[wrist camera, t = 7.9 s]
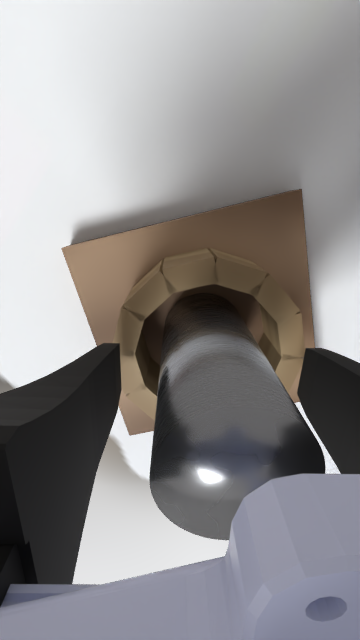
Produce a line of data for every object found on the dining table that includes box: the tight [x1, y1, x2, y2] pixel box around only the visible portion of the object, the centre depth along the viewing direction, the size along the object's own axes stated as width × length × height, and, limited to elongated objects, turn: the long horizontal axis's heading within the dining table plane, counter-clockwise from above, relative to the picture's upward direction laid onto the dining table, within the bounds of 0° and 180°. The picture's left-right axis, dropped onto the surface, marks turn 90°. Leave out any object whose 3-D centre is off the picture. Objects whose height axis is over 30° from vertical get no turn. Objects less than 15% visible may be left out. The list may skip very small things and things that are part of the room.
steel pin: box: [150, 293, 325, 540], centre depth 11 cm, size 4×4×9 cm
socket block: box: [62, 189, 315, 435], centre depth 15 cm, size 11×11×4 cm
